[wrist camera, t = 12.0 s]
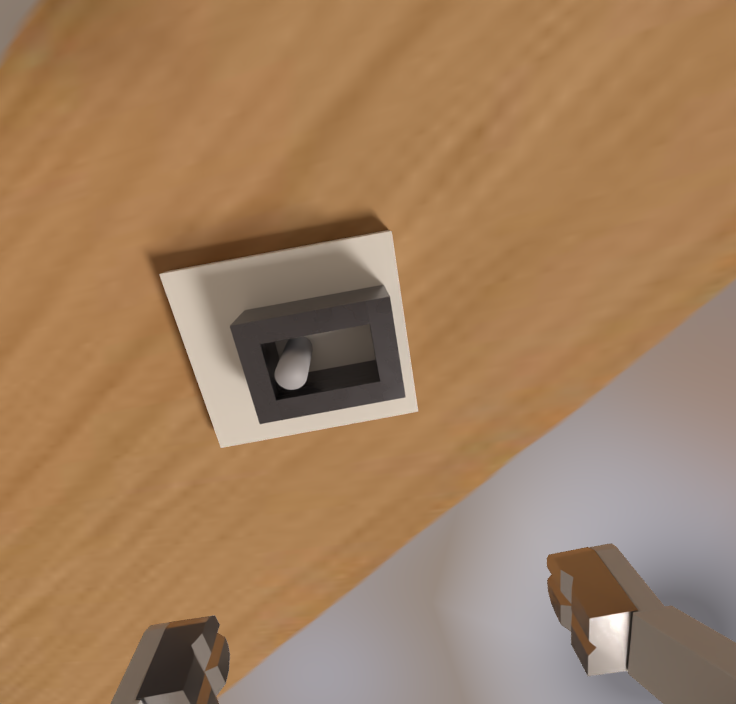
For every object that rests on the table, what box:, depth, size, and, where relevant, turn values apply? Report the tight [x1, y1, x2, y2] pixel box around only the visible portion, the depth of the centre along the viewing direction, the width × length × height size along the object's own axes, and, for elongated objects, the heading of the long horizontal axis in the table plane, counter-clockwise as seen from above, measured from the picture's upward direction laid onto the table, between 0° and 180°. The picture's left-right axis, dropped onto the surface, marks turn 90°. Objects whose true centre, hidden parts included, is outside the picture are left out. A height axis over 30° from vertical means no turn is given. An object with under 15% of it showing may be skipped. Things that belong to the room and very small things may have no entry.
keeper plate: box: [159, 230, 418, 448], centre depth 28 cm, size 16×14×6 cm
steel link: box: [230, 285, 406, 424], centre depth 28 cm, size 10×7×4 cm
